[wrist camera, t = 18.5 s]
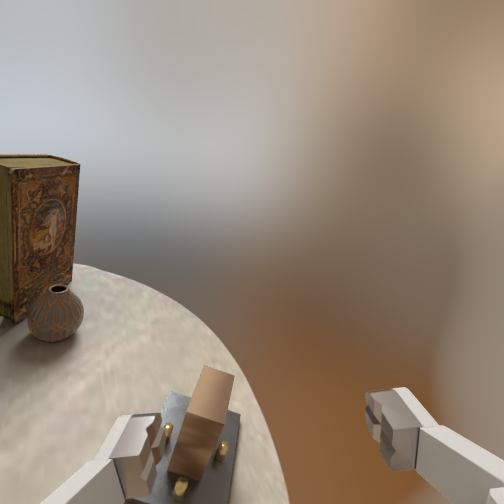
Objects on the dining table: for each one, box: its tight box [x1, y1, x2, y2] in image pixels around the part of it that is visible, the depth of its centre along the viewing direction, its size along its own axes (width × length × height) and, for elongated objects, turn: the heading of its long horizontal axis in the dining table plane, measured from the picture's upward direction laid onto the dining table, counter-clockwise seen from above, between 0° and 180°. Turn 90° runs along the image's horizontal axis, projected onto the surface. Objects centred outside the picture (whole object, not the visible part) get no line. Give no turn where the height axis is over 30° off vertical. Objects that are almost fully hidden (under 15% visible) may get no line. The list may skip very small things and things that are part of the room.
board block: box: [167, 365, 234, 481], centre depth 28 cm, size 4×6×10 cm, turn 174°
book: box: [0, 155, 80, 323], centre depth 40 cm, size 16×6×25 cm, turn 6°
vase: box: [28, 284, 84, 342], centre depth 38 cm, size 7×7×9 cm
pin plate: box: [125, 391, 241, 504], centre depth 29 cm, size 11×12×3 cm
